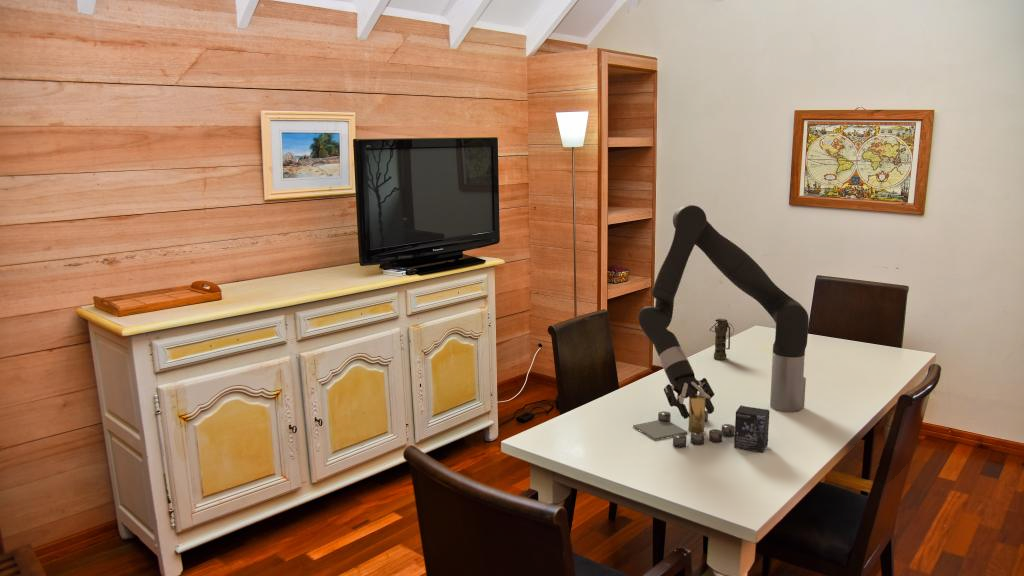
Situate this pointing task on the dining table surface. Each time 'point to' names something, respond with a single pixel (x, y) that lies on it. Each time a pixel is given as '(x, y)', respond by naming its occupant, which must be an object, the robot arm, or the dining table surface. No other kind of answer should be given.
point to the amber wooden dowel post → (696, 413)
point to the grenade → (721, 338)
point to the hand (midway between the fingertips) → (699, 415)
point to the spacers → (698, 437)
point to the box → (751, 428)
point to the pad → (660, 429)
